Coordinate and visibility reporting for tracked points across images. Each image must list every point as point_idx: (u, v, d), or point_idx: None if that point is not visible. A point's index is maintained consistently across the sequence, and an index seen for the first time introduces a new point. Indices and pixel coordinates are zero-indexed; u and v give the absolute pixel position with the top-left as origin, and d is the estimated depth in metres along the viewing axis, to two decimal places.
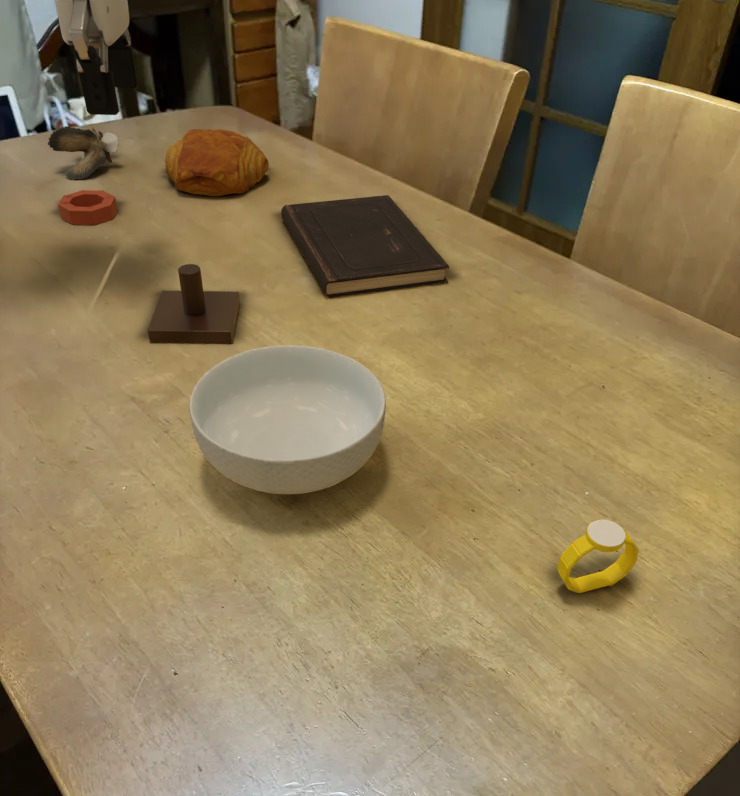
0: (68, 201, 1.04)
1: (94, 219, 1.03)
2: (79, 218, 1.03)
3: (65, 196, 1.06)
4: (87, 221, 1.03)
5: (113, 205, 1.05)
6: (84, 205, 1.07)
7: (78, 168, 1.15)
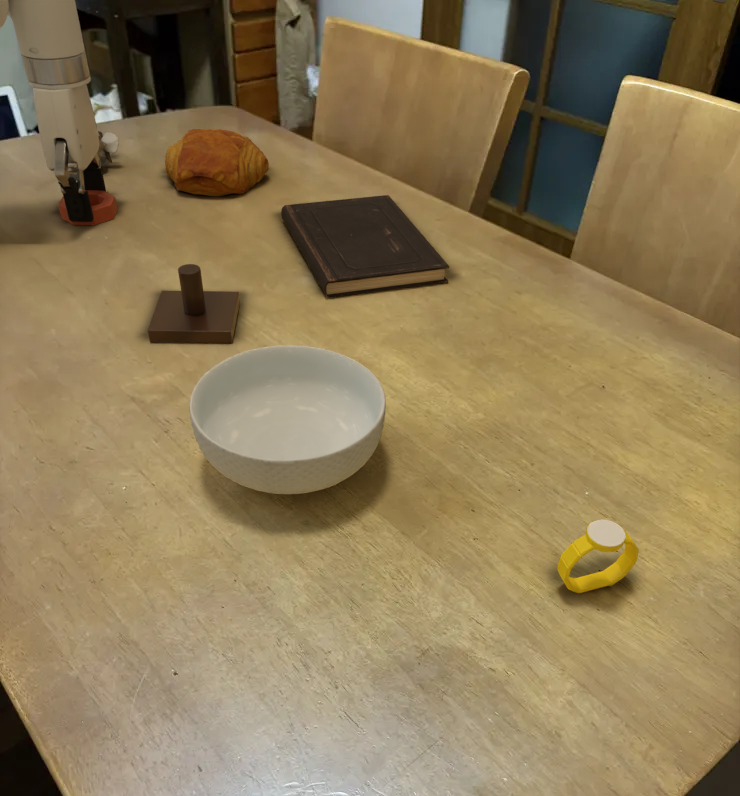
0: None
1: (94, 219, 1.03)
2: None
3: None
4: None
5: (113, 205, 1.05)
6: None
7: None
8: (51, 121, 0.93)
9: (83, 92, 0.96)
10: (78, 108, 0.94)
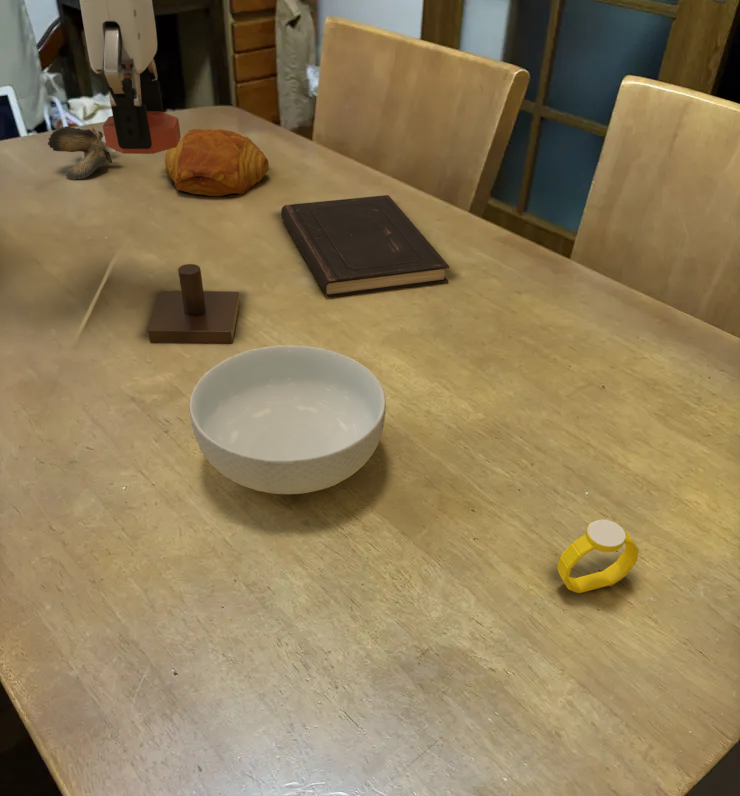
0: None
1: (153, 145, 0.76)
2: None
3: (111, 117, 0.78)
4: None
5: (176, 128, 0.78)
6: None
7: (78, 168, 1.15)
8: None
9: None
10: None
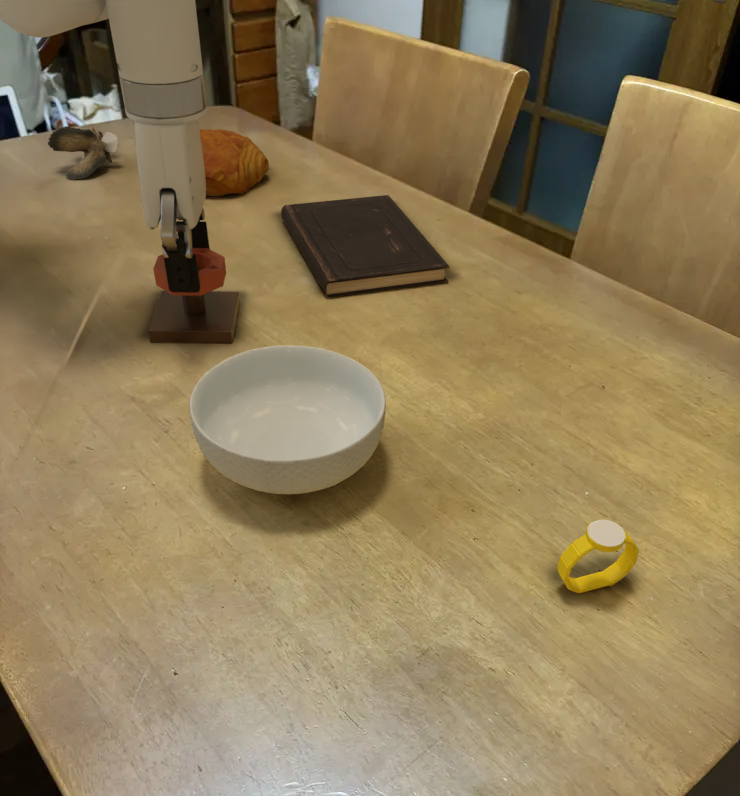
0: None
1: (201, 288, 0.79)
2: None
3: (161, 257, 0.82)
4: None
5: (223, 268, 0.81)
6: None
7: (78, 168, 1.15)
8: (157, 166, 0.69)
9: (196, 126, 0.72)
10: (191, 148, 0.70)
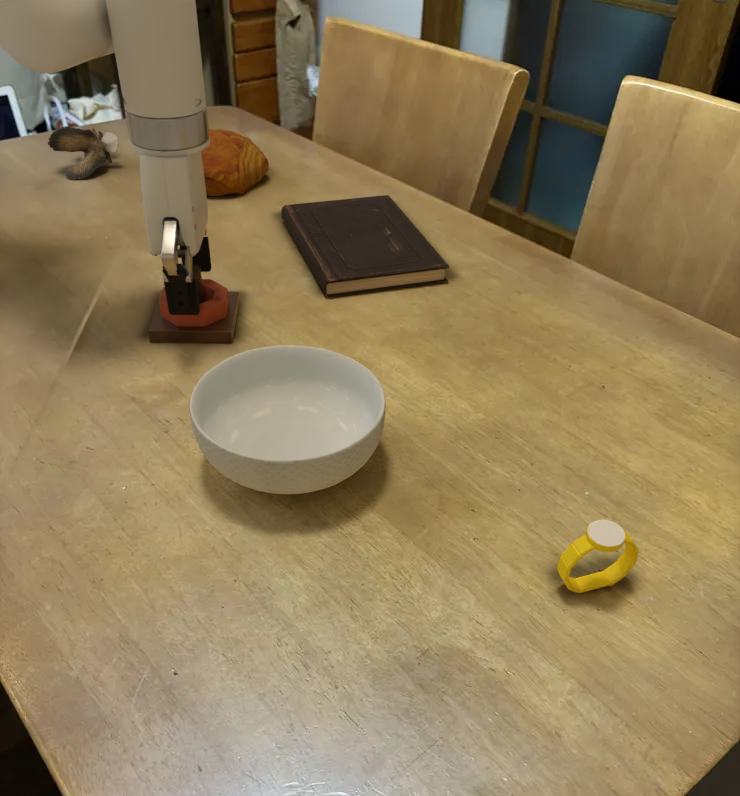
0: None
1: (205, 320, 0.82)
2: (187, 319, 0.82)
3: None
4: (196, 322, 0.82)
5: (226, 300, 0.84)
6: None
7: (78, 168, 1.15)
8: (161, 197, 0.71)
9: (199, 156, 0.74)
10: (194, 179, 0.72)
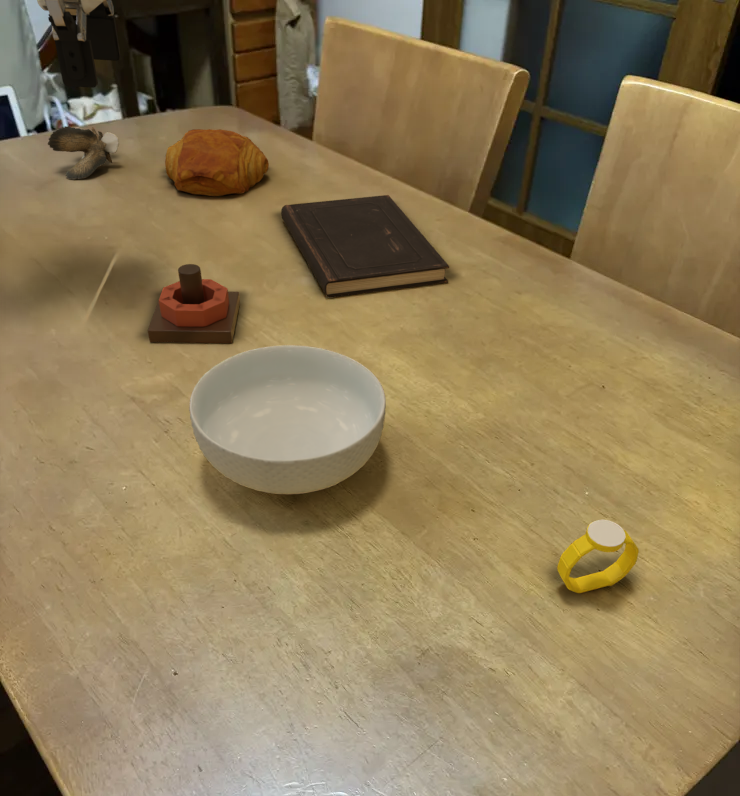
0: (171, 296, 0.83)
1: (205, 320, 0.82)
2: (187, 319, 0.82)
3: (166, 288, 0.84)
4: (196, 322, 0.82)
5: (226, 300, 0.84)
6: None
7: (78, 168, 1.15)
8: None
9: None
10: None
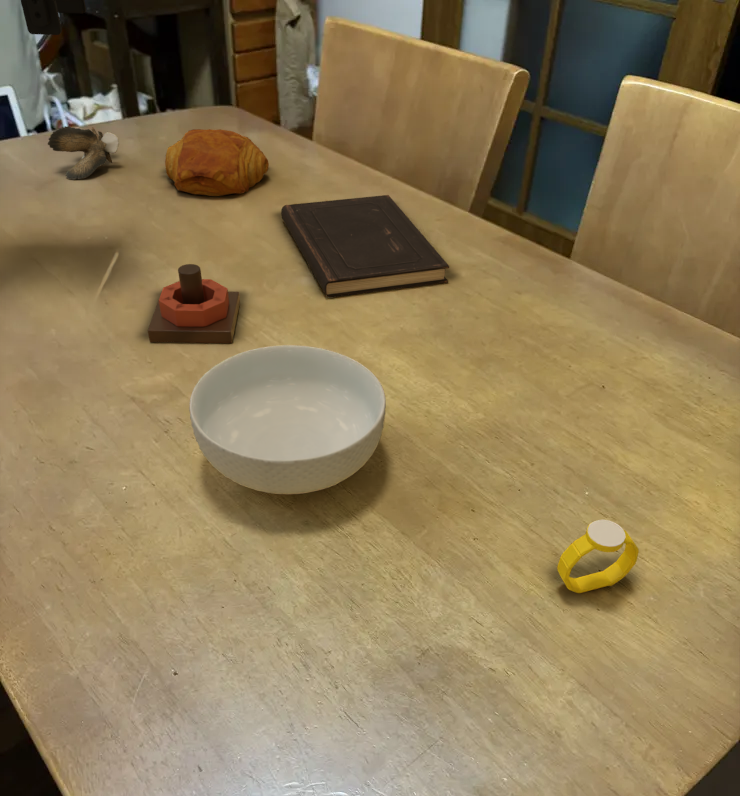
0: (171, 296, 0.83)
1: (205, 320, 0.82)
2: (187, 319, 0.82)
3: (166, 288, 0.84)
4: (196, 322, 0.82)
5: (226, 300, 0.84)
6: None
7: (78, 168, 1.15)
8: None
9: None
10: None
